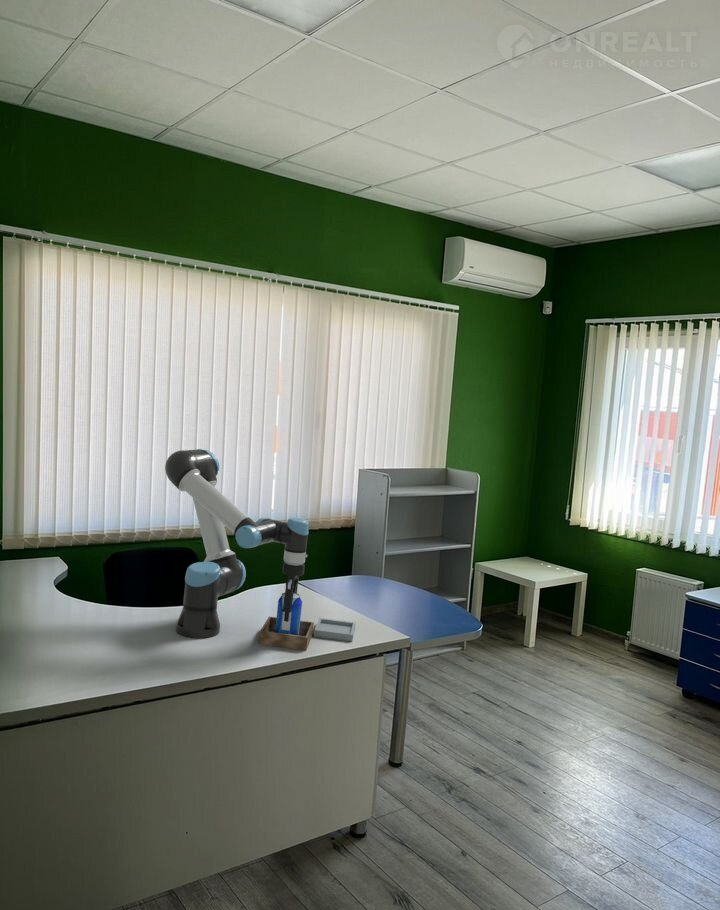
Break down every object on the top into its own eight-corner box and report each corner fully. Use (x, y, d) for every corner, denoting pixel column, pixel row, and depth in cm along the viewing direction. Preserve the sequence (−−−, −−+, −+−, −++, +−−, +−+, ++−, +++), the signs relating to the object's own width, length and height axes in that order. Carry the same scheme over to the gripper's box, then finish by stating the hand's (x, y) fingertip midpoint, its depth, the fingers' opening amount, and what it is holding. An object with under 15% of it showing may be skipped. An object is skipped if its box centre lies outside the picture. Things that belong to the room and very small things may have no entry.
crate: (258, 644, 246) (259, 631, 246) (267, 628, 262) (268, 616, 262) (306, 650, 245) (307, 637, 245) (312, 634, 262) (313, 622, 261)
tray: (313, 636, 259) (314, 629, 259) (318, 624, 273) (319, 617, 273) (352, 641, 258) (353, 634, 258) (355, 629, 272) (355, 622, 272)
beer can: (294, 644, 249) (299, 600, 247) (271, 640, 250) (275, 596, 249) (301, 637, 257) (305, 593, 256) (278, 633, 259) (283, 590, 257)
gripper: (300, 571, 241) (293, 636, 243) (308, 557, 262) (302, 617, 264) (278, 568, 241) (271, 634, 243) (288, 554, 262) (282, 615, 264)
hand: (287, 625), depth 253 cm, fingers closed on beer can, 8 cm apart
